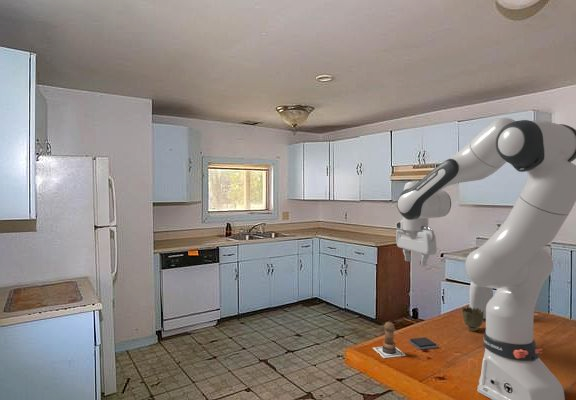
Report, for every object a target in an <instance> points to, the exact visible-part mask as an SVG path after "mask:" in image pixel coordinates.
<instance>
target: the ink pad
mask: <svg viewBox="0 0 576 400" xmlns="http://www.w3.org/2000/svg"><path fill="white" fill-rule="evenodd" d="M408 342H409V343H410V344H411V345H412V346H414V347H416V348H417V349H418V350H420V351H422V350H430V349H438V348H439V345H438V344H437V343H435V342H434V341H432V340H431V339H429V338H428V337H427V336H426V337H417V338H414V337H413V338H409V339H408Z"/></svg>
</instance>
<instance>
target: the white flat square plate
mask: <svg viewBox="0 0 576 400" xmlns="http://www.w3.org/2000/svg"><path fill="white" fill-rule="evenodd" d="M382 347H383V346H377V347H372V350H374V351H375V352H376V353H377V354H378V353H379V354H380V357H381V358H382V359H388V358H398V357H399V358H400V357H405V356H407V355H406V354H405V353H404V352H403V351H401V350H400V349H399V348H397V347H396V353H395V354H386V353H384V352H383V351H382ZM379 354H378V355H379Z"/></svg>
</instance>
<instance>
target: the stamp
mask: <svg viewBox="0 0 576 400" xmlns="http://www.w3.org/2000/svg"><path fill="white" fill-rule="evenodd" d="M383 329H384V340H383V342H382V346H381V347H382V351H383V352H384V353H386V354H395V353H396V348H397V346H396V342H395V341H394V338H395V337H394V332H395V331H394V330H395V325H394V323H393V322H392V321H386V322H385V323H384V324H383Z"/></svg>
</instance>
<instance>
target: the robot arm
mask: <svg viewBox="0 0 576 400" xmlns="http://www.w3.org/2000/svg"><path fill="white" fill-rule="evenodd" d="M575 160H576V129H575V128H574V127H572V126H571V125H570V126H569V125H567V124H562V123H559V124H558V123H555V122H551V121H548V120H528V119H522V120H521V119H520V120H515V119H512V118H509V117H502V118H499V119H498V118H497V119H496V120H494V121H492V123H490V124H488V125H487V126H486V127H484V128H483V129H482V130H481V131H480V132H479V133H478V134H476V135H475V136H474V137H473V138H472V139H471V140H470V141H469V142H468V143H467V144H466V145H465V146H464V147H462V148H461V149H460V150H459V151H458V152H456V153H455V154H454V155H452V156H451V157H449V158H448V159H446V160H445V161H443V162H441V163H440V164H439V165H438V166H435V168H434V169H432V170H431V171H430V172H429V173H428V174H426V175H425V176H423V178H422V179H416V180H410V181H407V182H406V183H405V184H404V187H403V191H402V192H401V193H400V194H399V196H398V197H397V198H398V199H397V201H396V208H397V210H398V212H399V213H400V215H401V216H402V219H401V220H399V221H398V222H395V229H396V231H395V235H396V236H395V241H396V243H395V244H396V246H397V248H400V249H402V253H403V255H404V261H406V262H412V256H411V255H410V251H411V252H415V253H418V254H420V257H421V260H419V266H421V267H426V266H427V263H428V262H427V261H428V260H429V257H430V256H432V255H436V253H437V251H438V250H437V238H436V235H435V233H434V230H433V229H432V227H430V226H429V219H431V218H433V219H434V218H437V219H438V218H443V217H445V216H447V215H448V214H449V213H450V211H451V207H452V199H451V196H450V195H449V193H447V191H445V190H443V189H445V188H447V187H450V186H452V185H457V184H460V183H462V184H463V183H466V182H474V181H480V180H481V181H482V180H484V179H486V178H488V177H490V176H492V175H493V174H495V173H496V172H497V171H499V169H501V168H502V167H503V166H505V164H507V163H508V164H510V165H511V166H512V167H513V168H514V169H515V170H516V171H517V172H519V173H525V172H526V173H527V179H526V180H527V181H526V183H525V185H523V186H524V187H523V189H522V190H521V192H520V194H519V196H518V198H517V199H516V201H515V203H514V204H513V207H512V208H511V211H510V213H509V214H508V216H507V218H506V219H505V220H504V222H503V223H502V224H501V226H499V228H497V230H495V232H494V233H493V234H492V235H491V236H490V237H489V238H488V239H487V240H486V241H485V242H484V243H483V244H482V245H481V246H479V247H478V248H476V249H475V250H473V251H471V252H469V254H468V255H467V257H466V258H465V263H464V264H465V265H464V266H465V272H466V275H467V277H468V278H469V280H470V281H472V282H473V283H474V284H476V285H478V286H481V287H487V288H493V289H496V290H495V292H494V293H493V297H492V298H491V299H490V300H489V302H488V303H487V305H486V319H485V332H483V340H482V341H483V346H484V354H483V358H482V363H481V372H480V376H479V378H478V385H477V388H476V389H477V392H478V393H480V394H481V395H482V396H484V397H487V398H489V399H490V400H565V399H566V398H565V397H566V396H565V391H564V387H563V385H562V383H561V381H559V380H558V378H557V377H556V375H555V374H553V373H552V372H551V370H550V369H549V368H548V367H547V365H546V364H545V363H544V362H543V361H542V360H541V359H540V354H543V350H544V349H543V348H538V347H537V344H536V341H535V340H534V315H535V310H536V309H535V308H536V304H537V301H538V298H539V295H540V292H541V289H542V287H543V285H544V283H545V281H546V280H547V278H549V277H550V276H551V274H552V272H553V269H554V260H553V258H552V255H551V254H550V253H549V252H548V251H547V250H546V249H544V247H546V246H547V245H549V244H551V242H552V241H554V239H555V238H556V237H557V235H558V233H559V231H561V227H562V226H563V225H564V224H565V221H566V220H567V218H568V216H569V214H570V213H571V212H572V209H573V208H574V206H575V203H576V164H575V163H573V161H575Z"/></svg>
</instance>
